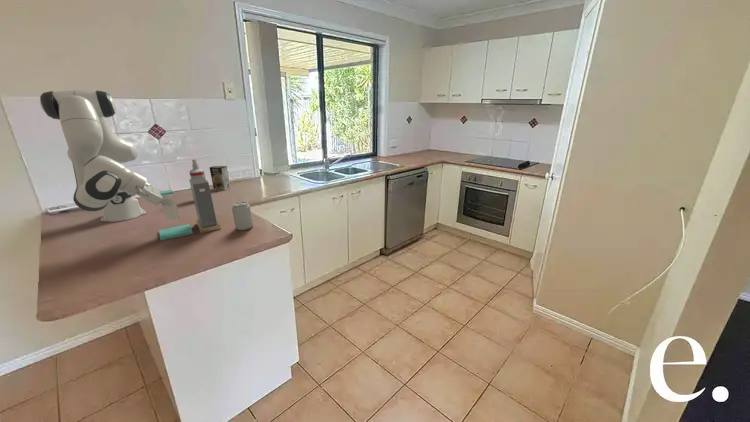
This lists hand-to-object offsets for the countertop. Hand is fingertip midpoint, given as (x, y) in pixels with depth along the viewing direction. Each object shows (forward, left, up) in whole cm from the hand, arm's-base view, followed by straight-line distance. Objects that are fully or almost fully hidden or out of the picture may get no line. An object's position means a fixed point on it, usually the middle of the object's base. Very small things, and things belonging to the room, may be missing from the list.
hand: (170, 203), depth 131 cm
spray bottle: (-54, +17, -14) cm, 58 cm away
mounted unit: (0, +12, -14) cm, 18 cm away
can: (+14, +25, -14) cm, 32 cm away
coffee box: (-75, +32, -14) cm, 83 cm away
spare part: (0, -1, -6) cm, 6 cm away
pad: (0, -1, -14) cm, 14 cm away
